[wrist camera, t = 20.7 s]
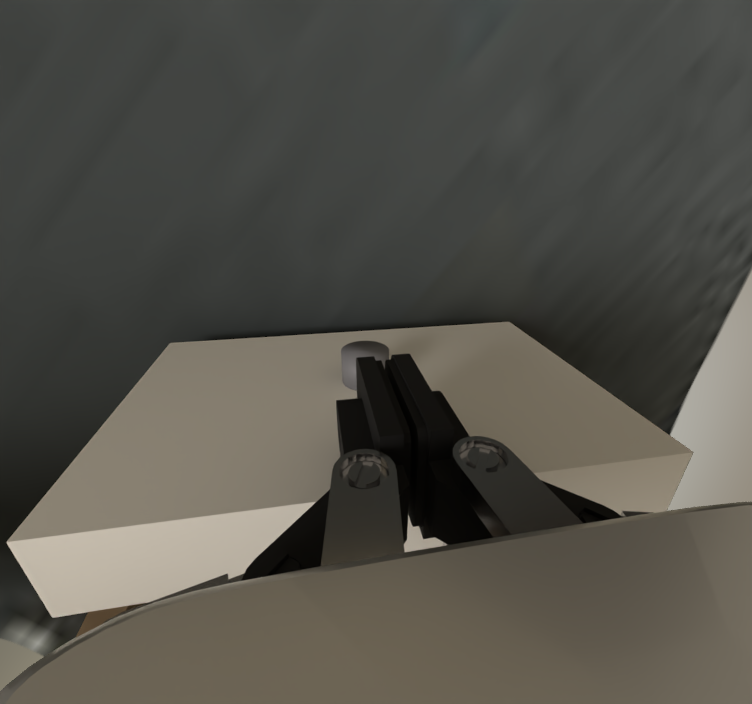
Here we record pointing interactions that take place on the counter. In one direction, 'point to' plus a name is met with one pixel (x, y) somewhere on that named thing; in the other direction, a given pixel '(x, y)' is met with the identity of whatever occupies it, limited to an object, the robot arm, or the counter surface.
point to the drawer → (304, 453)
